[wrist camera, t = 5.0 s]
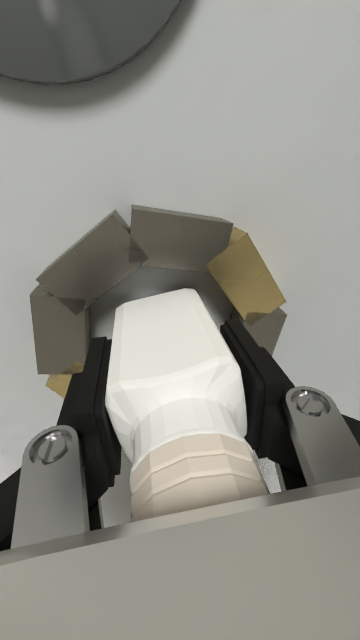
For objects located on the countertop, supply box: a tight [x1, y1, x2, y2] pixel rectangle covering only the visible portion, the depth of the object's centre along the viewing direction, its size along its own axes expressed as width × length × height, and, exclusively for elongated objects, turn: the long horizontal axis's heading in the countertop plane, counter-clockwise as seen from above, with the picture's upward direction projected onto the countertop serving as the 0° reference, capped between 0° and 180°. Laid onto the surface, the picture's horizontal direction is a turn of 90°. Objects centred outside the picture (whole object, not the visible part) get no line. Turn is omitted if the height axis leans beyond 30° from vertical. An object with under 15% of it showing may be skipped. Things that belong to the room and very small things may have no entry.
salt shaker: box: [105, 288, 270, 522], centre depth 9 cm, size 4×4×10 cm
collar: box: [30, 205, 287, 398], centre depth 13 cm, size 11×11×2 cm
